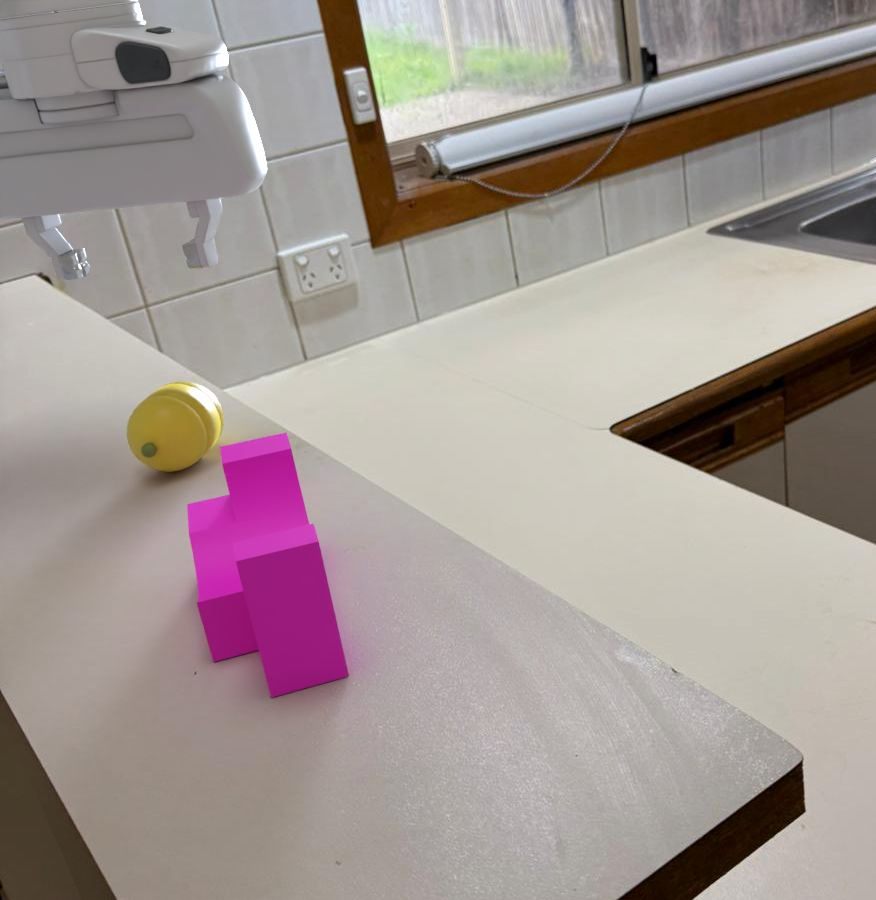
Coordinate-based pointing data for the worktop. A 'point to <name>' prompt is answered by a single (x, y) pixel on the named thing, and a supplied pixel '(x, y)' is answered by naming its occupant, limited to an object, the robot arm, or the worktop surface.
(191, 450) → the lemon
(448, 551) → the worktop surface
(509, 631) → the worktop surface
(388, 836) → the worktop surface
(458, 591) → the worktop surface
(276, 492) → the toy block
